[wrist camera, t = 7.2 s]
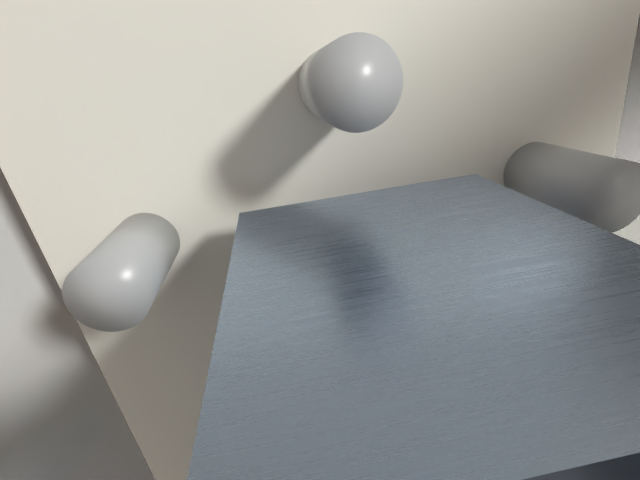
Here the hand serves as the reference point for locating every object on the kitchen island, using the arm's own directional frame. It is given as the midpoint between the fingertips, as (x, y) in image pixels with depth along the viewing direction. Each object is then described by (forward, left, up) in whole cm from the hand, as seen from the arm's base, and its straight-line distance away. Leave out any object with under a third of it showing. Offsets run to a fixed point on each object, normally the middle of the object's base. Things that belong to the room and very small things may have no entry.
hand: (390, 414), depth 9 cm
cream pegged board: (0, 0, -4) cm, 4 cm away
